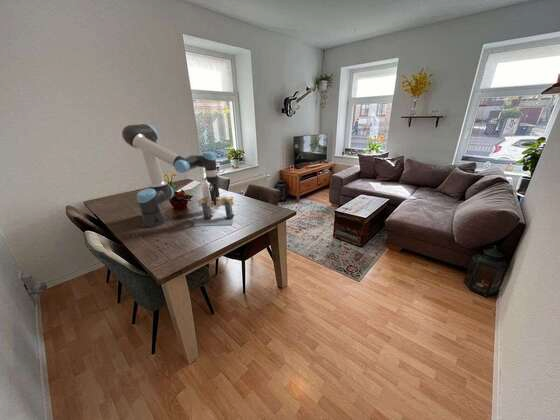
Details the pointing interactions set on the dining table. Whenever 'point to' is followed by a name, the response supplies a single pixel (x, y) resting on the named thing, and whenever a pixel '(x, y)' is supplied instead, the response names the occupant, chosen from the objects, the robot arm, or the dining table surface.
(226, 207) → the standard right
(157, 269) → the dining table surface
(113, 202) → the dining table surface
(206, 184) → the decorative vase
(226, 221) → the mat
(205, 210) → the standard left
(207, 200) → the rail
